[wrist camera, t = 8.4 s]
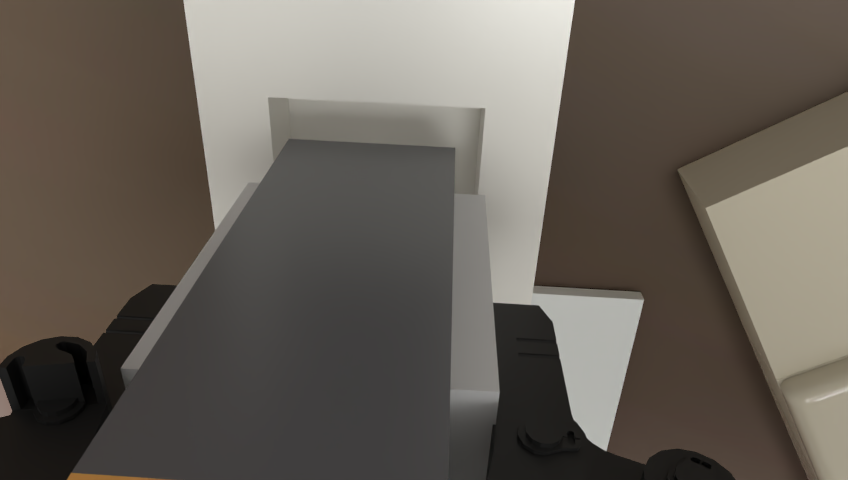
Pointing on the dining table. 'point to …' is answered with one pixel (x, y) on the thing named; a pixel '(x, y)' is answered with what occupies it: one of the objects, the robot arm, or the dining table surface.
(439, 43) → the socket strip
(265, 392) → the plug
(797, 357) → the electrical outlet
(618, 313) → the tray
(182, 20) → the dining table surface
